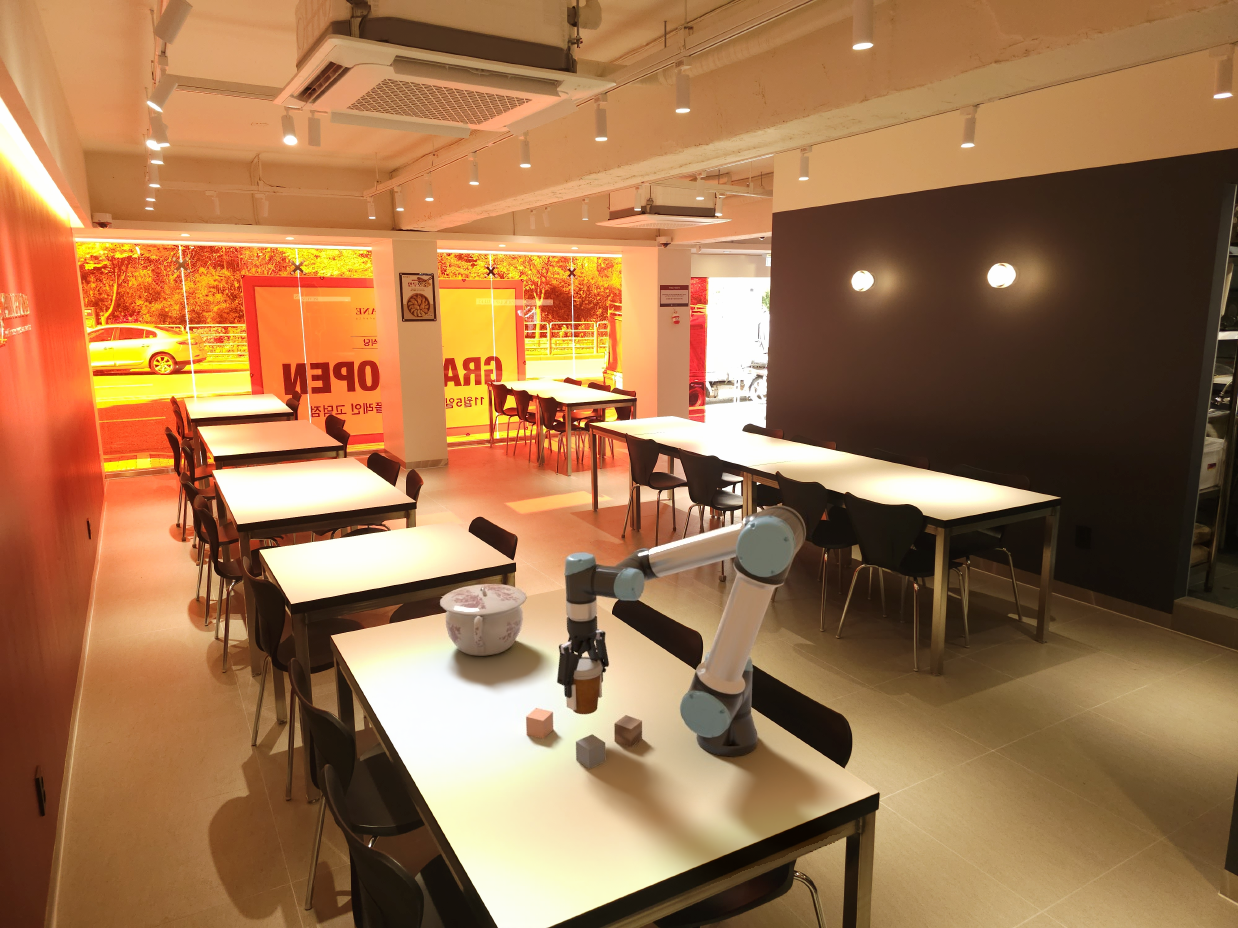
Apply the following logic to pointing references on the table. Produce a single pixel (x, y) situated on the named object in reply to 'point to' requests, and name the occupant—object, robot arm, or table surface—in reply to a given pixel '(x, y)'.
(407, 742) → the table surface
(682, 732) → the table surface
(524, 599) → the chamber pot
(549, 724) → the terracotta cube
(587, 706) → the disposable coffee cup
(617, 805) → the table surface
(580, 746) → the slate grey cube
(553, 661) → the table surface
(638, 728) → the walnut cube
